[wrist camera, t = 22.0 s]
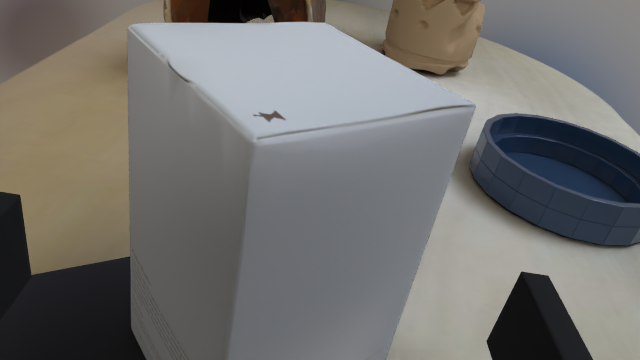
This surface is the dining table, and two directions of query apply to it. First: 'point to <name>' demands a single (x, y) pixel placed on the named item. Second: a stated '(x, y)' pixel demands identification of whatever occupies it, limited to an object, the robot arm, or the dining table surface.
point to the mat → (73, 316)
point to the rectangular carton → (278, 189)
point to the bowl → (561, 177)
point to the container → (433, 33)
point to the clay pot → (243, 11)
